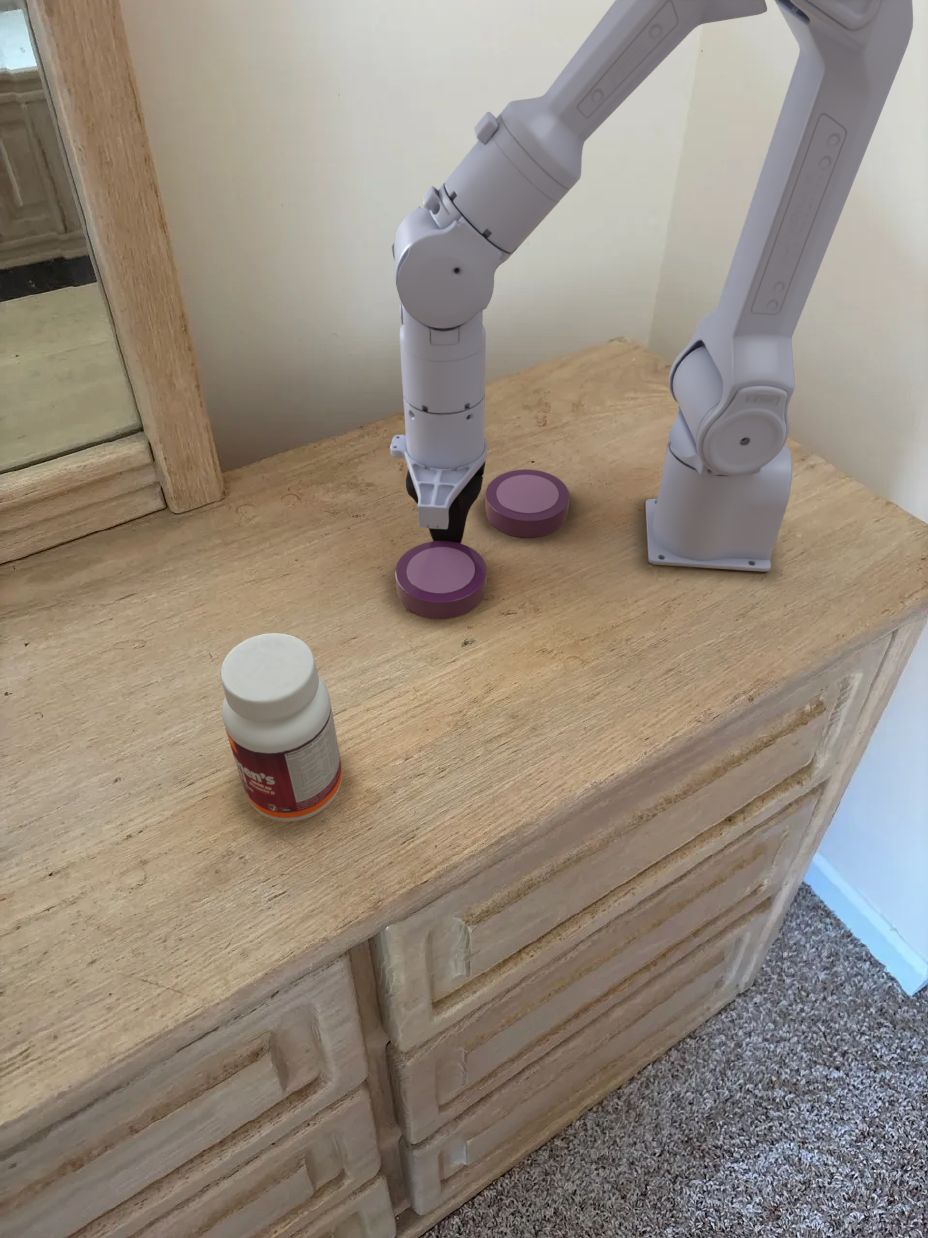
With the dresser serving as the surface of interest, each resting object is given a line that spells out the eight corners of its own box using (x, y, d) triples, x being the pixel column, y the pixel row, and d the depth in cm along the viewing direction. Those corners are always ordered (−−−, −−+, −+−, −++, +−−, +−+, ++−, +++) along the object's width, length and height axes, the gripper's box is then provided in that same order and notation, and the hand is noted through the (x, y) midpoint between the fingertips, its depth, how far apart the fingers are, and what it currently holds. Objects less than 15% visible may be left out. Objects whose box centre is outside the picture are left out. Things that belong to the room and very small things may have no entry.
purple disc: (490, 560, 72) (490, 542, 71) (482, 622, 67) (482, 604, 66) (403, 554, 73) (402, 536, 71) (389, 615, 68) (388, 598, 67)
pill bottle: (226, 788, 57) (185, 671, 49) (298, 729, 60) (271, 609, 52) (292, 844, 54) (260, 729, 46) (364, 778, 58) (346, 660, 50)
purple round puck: (569, 488, 79) (570, 470, 77) (566, 540, 74) (568, 522, 73) (489, 483, 79) (489, 466, 78) (481, 534, 74) (481, 517, 73)
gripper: (403, 337, 68) (412, 483, 78) (368, 448, 58) (383, 600, 68) (496, 342, 67) (493, 488, 77) (477, 455, 57) (476, 607, 67)
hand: (447, 541), depth 72 cm, fingers closed
